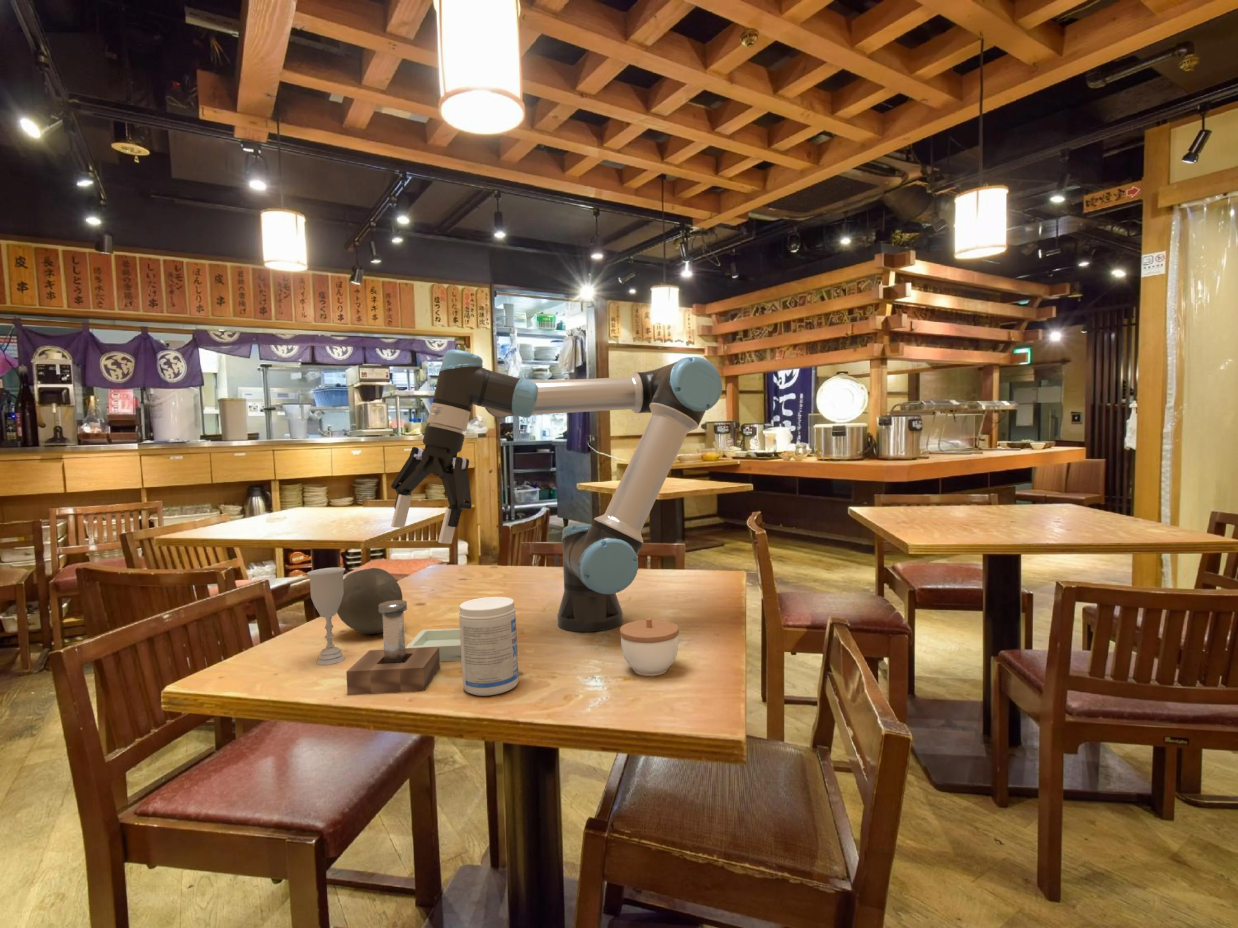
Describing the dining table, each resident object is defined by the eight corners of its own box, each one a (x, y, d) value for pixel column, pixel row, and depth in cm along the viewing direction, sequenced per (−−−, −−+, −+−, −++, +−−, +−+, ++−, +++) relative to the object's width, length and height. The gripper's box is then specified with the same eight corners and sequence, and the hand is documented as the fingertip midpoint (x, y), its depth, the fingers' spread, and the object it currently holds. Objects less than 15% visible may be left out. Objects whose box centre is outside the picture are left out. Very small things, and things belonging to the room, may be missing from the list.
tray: (488, 640, 133) (487, 626, 133) (477, 659, 121) (477, 644, 121) (422, 643, 132) (421, 629, 132) (405, 663, 120) (404, 647, 120)
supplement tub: (528, 688, 105) (524, 602, 105) (475, 702, 100) (471, 613, 100) (504, 672, 113) (501, 593, 113) (454, 685, 108) (450, 601, 108)
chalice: (333, 667, 119) (329, 575, 119) (302, 666, 120) (298, 574, 120) (357, 654, 126) (353, 567, 126) (327, 653, 128) (323, 567, 127)
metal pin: (413, 674, 114) (410, 599, 113) (405, 684, 109) (402, 606, 108) (387, 676, 113) (383, 600, 113) (378, 686, 109) (374, 607, 108)
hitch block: (440, 667, 117) (439, 646, 117) (424, 690, 106) (423, 667, 106) (370, 671, 116) (369, 650, 116) (347, 694, 105) (346, 671, 105)
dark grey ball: (372, 622, 150) (369, 561, 149) (417, 628, 144) (414, 564, 143) (322, 640, 137) (319, 573, 137) (369, 647, 131) (366, 577, 131)
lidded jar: (611, 665, 115) (610, 616, 115) (662, 656, 119) (661, 608, 119) (636, 685, 105) (635, 630, 105) (691, 673, 109) (689, 621, 109)
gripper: (389, 416, 124) (364, 519, 123) (479, 434, 111) (451, 549, 110) (418, 424, 130) (394, 522, 129) (506, 441, 118) (480, 550, 116)
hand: (420, 535), depth 120 cm, fingers open, 13 cm apart
